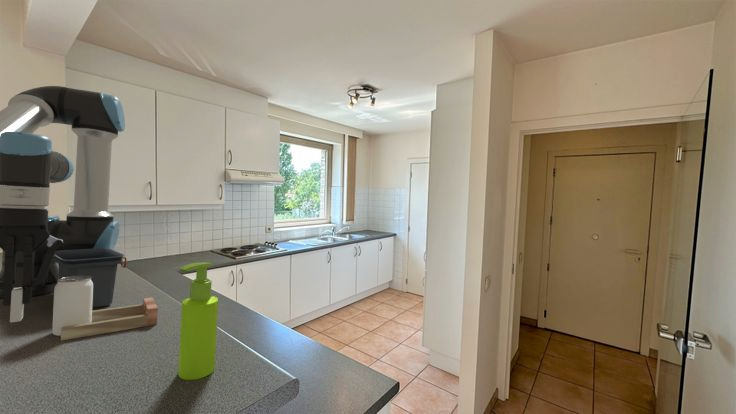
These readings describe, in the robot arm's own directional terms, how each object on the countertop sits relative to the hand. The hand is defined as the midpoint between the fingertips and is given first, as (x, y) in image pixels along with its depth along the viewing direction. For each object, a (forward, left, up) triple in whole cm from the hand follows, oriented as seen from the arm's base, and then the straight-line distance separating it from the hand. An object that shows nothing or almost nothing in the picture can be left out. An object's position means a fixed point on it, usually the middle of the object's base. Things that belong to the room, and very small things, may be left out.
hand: (16, 319), depth 65 cm
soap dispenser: (+34, +27, -5) cm, 43 cm away
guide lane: (0, +15, -4) cm, 16 cm away
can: (0, +9, -5) cm, 10 cm away
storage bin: (-24, +11, -5) cm, 27 cm away
